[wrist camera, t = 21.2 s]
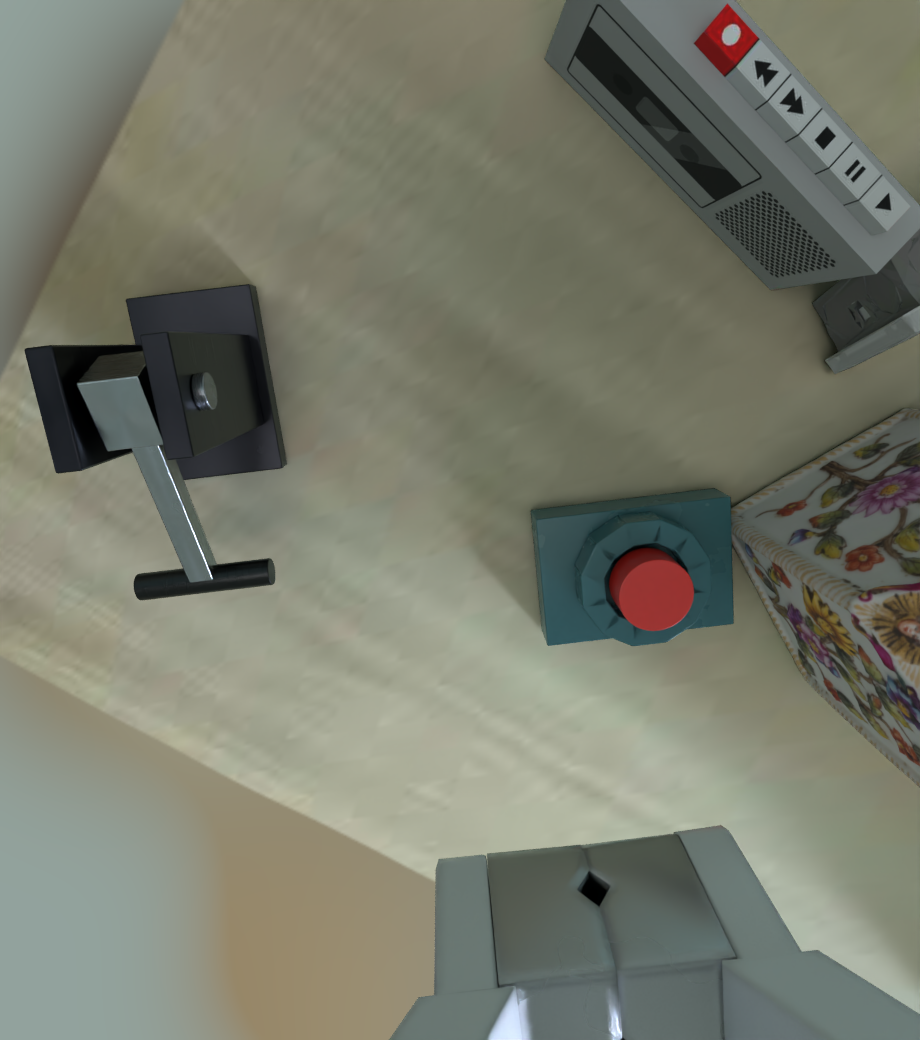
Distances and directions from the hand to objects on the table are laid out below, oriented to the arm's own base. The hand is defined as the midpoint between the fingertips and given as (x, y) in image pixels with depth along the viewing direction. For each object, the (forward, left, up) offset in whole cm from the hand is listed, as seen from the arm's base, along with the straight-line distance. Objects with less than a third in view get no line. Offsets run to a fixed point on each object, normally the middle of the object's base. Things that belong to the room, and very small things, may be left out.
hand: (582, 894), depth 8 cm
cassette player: (+12, +13, -31) cm, 36 cm away
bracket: (-13, +5, -31) cm, 34 cm away
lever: (-12, +2, -24) cm, 27 cm away
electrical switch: (+22, +6, -31) cm, 39 cm away
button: (+8, -7, -27) cm, 29 cm away
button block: (+8, -7, -31) cm, 33 cm away
